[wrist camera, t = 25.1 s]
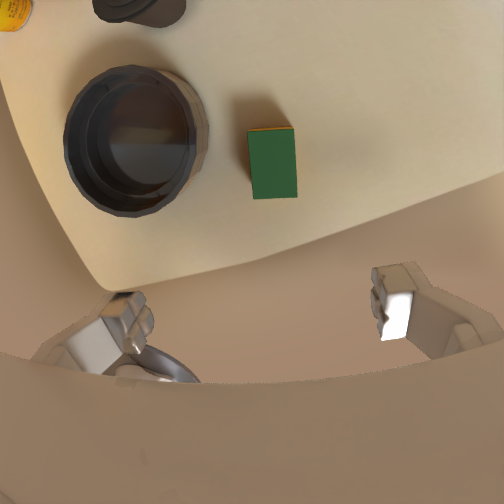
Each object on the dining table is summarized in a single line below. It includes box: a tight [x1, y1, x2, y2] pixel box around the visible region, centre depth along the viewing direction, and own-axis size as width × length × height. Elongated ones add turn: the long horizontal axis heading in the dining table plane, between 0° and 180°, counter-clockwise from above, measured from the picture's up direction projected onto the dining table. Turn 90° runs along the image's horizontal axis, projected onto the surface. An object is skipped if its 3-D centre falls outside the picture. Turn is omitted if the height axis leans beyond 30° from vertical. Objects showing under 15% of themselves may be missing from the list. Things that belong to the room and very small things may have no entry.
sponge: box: [247, 127, 297, 199], centre depth 29 cm, size 7×4×4 cm, turn 5°
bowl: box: [63, 65, 209, 218], centre depth 28 cm, size 16×16×6 cm
